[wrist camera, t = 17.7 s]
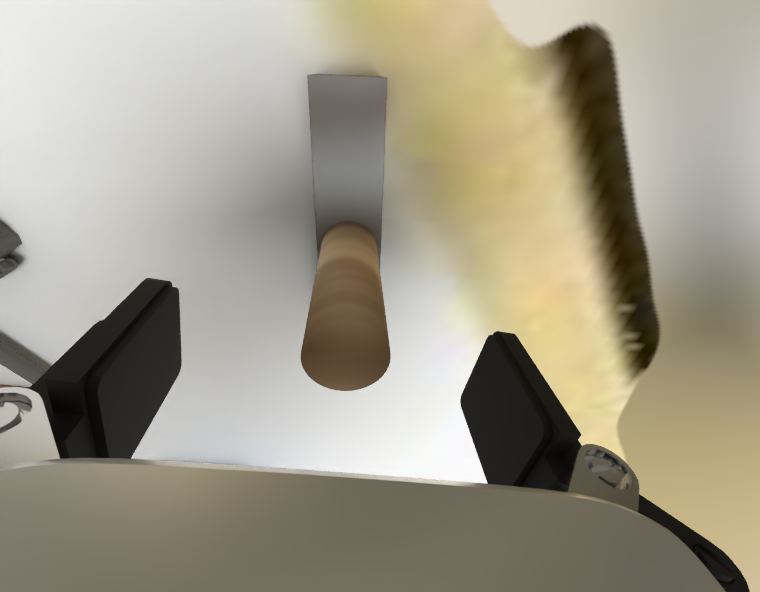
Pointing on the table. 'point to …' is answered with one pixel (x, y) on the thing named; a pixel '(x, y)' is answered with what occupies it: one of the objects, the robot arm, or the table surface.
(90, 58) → the table surface
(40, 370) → the walkie-talkie
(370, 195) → the scraper
